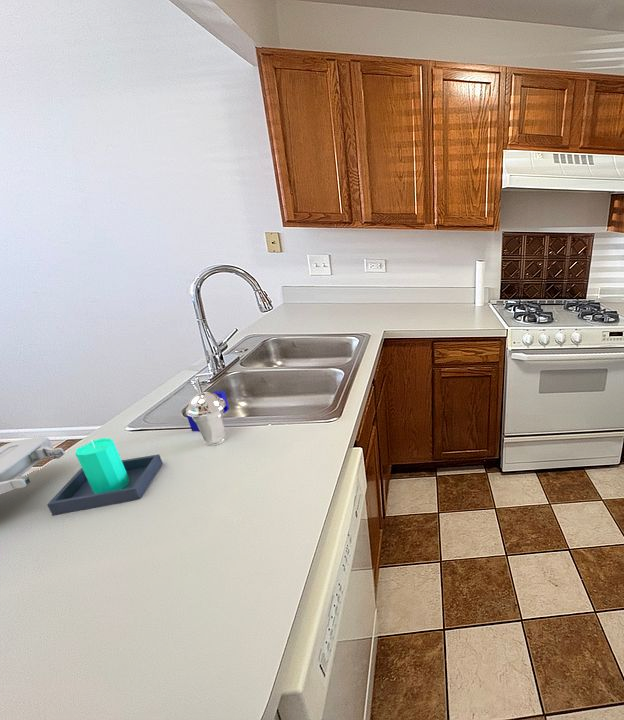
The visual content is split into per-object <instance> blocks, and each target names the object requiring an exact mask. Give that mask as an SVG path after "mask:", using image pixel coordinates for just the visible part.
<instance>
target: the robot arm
mask: <svg viewBox="0 0 624 720" xmlns="http://www.w3.org/2000/svg"><path fill="white" fill-rule="evenodd" d="M64 455H66V452H65V450H64V448H62V447H55V448H54V446H53V444H52V442H51V440H50V438H48V437H46V436H39V437H38V436H37V437H31V438H25V439H19V440H15V441H11V442H8V443H6V444H3V445H1V446H0V495H2V494H5V493H8V492H11V491H13V490H16V489H23V488H25V487H26V486H28V485H29V484H30V483H31V479H30V477H29V476H28V475H25V473H27V472H29V470H31V469H32V468H33V467H34V466H35V465H37V464H38V463H39V462H40V461H42V460H43V459H46V458H48V457H49V459H50V460H59V459H60V458H62V457H63V456H64Z"/></svg>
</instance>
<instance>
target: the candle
mask: <svg viewBox="0 0 624 720" xmlns="http://www.w3.org/2000/svg"><path fill="white" fill-rule="evenodd" d="M74 454H75V457H76V459H77V461H78V463H79V465H80V468H82V469H83V471H84V473H85V476H86V478H87V480H88V482H89V484H90V486H91V488H92V490H93V492H94V494H97V493H103V492H108V491H114V490H120V489H123V488H124V487H125V486H126V485H128V483H129V481H130V479H129V477H128V475H127V472H126V470H125V467H124V465H123V463H122V460H123V459H122V458H121V456H120V453H119V451H118V449H117V446H116V444H115V442H114V440H113V439H112V438H111V437H110V438H109V437H102V438H98V439H94V440H93V439H91V440H90V442H88V443H87V444H85V445H83V446H82V445H81V446H79V447H77V448H76V450H75V453H74Z"/></svg>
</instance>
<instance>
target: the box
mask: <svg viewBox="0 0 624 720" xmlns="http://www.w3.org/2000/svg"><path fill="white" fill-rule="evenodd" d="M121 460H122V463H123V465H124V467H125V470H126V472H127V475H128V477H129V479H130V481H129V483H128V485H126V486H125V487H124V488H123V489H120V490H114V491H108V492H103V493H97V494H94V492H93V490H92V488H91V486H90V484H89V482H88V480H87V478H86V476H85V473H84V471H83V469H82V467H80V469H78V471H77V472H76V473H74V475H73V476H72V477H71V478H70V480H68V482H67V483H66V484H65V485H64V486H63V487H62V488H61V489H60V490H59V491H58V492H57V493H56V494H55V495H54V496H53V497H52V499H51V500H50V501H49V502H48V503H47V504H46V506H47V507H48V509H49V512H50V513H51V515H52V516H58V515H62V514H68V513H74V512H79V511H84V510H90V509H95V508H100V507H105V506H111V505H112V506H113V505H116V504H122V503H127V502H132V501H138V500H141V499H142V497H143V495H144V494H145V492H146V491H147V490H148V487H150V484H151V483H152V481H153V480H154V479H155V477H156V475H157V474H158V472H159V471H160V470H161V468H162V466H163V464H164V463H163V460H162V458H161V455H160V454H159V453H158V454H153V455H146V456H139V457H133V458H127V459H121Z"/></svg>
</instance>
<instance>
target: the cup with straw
mask: <svg viewBox="0 0 624 720" xmlns="http://www.w3.org/2000/svg"><path fill="white" fill-rule="evenodd" d="M210 376H216V372H214V371H213V372H204V373H197V374H195V376H194V380H195V383H196V387H197V390H198V393H197V394H195V395H194V396H193V397H191V398H190V400H189V403H188V406H187V407H186V409H185V415H186V416H187V415H188V416H191V417H192V419H193V420H194V422H195V423H196V425H197V427H198V429H199V431H198V432H200V435H201V437H202V439H203V440H204V442H205V444H206V446H208V447H213V446H217V445H221V444H223V443H224V442H225V441H226V440H227V436H226V435H227V431H226V424H225V419H224V415H225V413H224V412H223V411H224V409H223V408H224V407H225V406H226V402H225V401H224V400H223V399H221V398H219V397H218V396H217V395H216V394H214V393H213V392H211V391H203V389H202V388H203V387H202V385H201V382H200V379H199V378H202V377H210Z"/></svg>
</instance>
